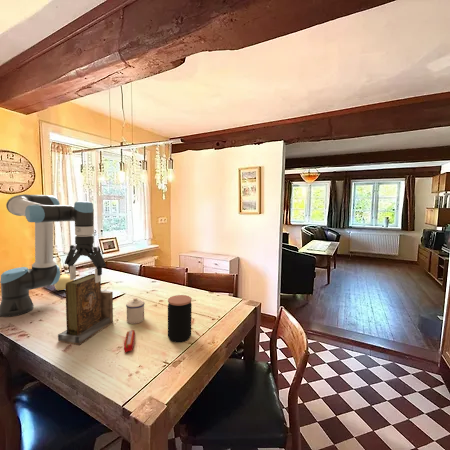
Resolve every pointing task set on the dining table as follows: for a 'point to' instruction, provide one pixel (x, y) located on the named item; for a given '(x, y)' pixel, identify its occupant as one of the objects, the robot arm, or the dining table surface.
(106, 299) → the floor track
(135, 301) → the teacup with lid
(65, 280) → the sculpture
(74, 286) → the book
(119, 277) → the dining table surface
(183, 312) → the coffee jar
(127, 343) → the candy bar
